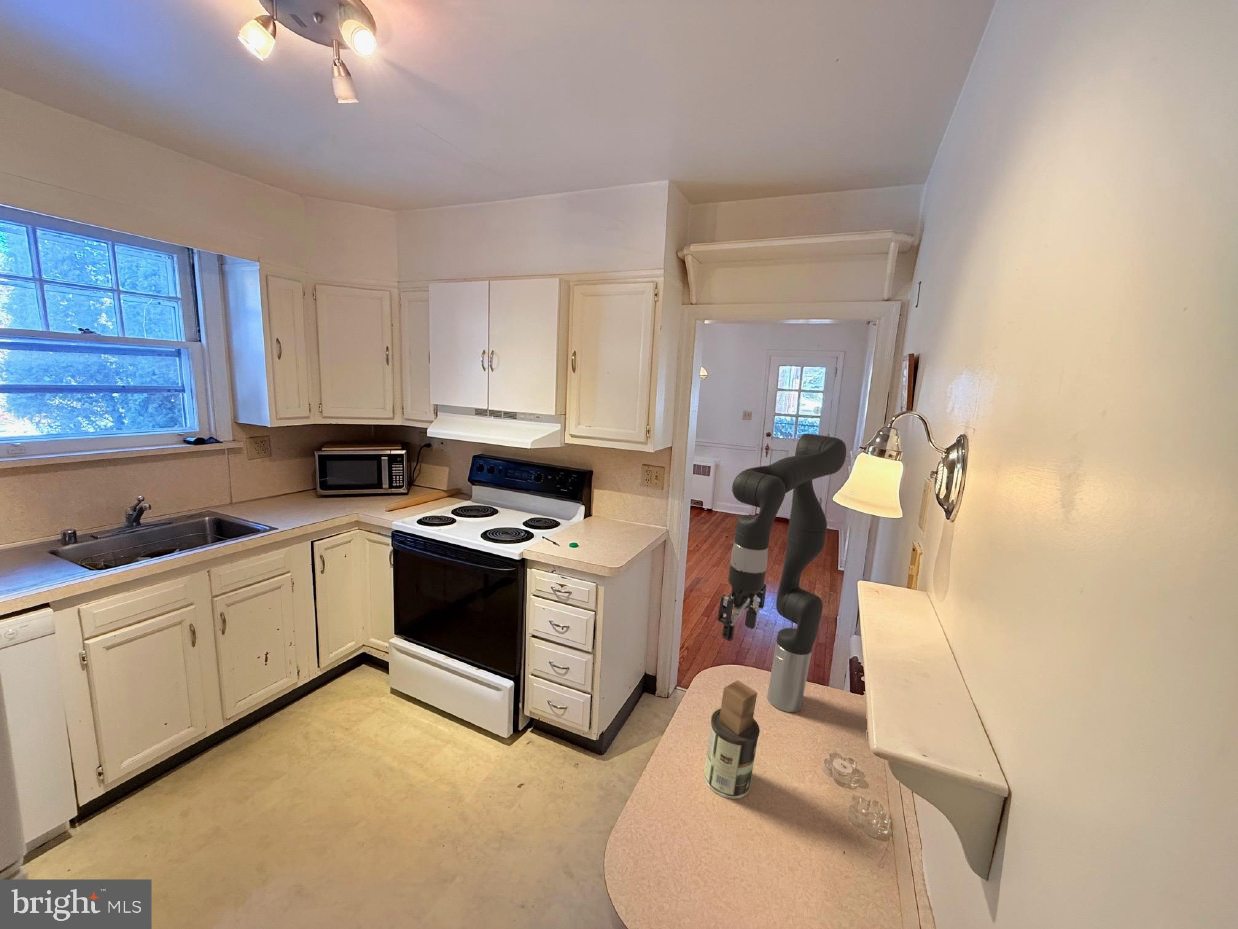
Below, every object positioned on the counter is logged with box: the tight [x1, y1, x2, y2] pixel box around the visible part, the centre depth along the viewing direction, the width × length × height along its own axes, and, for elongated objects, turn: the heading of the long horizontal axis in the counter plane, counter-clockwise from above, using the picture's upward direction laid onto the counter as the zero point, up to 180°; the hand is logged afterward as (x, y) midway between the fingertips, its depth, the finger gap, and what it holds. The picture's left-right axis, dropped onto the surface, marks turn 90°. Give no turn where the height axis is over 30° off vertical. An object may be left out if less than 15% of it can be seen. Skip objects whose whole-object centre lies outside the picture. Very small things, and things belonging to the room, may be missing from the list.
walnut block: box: [719, 679, 758, 735], centre depth 104 cm, size 5×5×8 cm
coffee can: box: [703, 708, 760, 800], centre depth 106 cm, size 10×10×14 cm
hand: (738, 633), depth 107 cm, fingers open, 8 cm apart
